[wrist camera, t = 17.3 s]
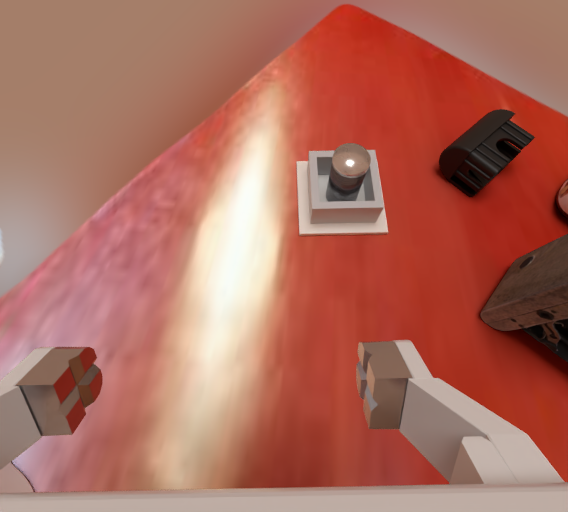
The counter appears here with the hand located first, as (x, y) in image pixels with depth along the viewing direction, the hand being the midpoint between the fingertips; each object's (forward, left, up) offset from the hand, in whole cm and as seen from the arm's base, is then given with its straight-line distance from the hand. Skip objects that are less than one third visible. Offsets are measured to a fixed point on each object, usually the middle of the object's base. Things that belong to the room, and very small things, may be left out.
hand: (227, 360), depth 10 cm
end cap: (+30, +29, -30) cm, 51 cm away
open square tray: (+10, +24, -29) cm, 39 cm away
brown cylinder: (+10, +24, -29) cm, 39 cm away
